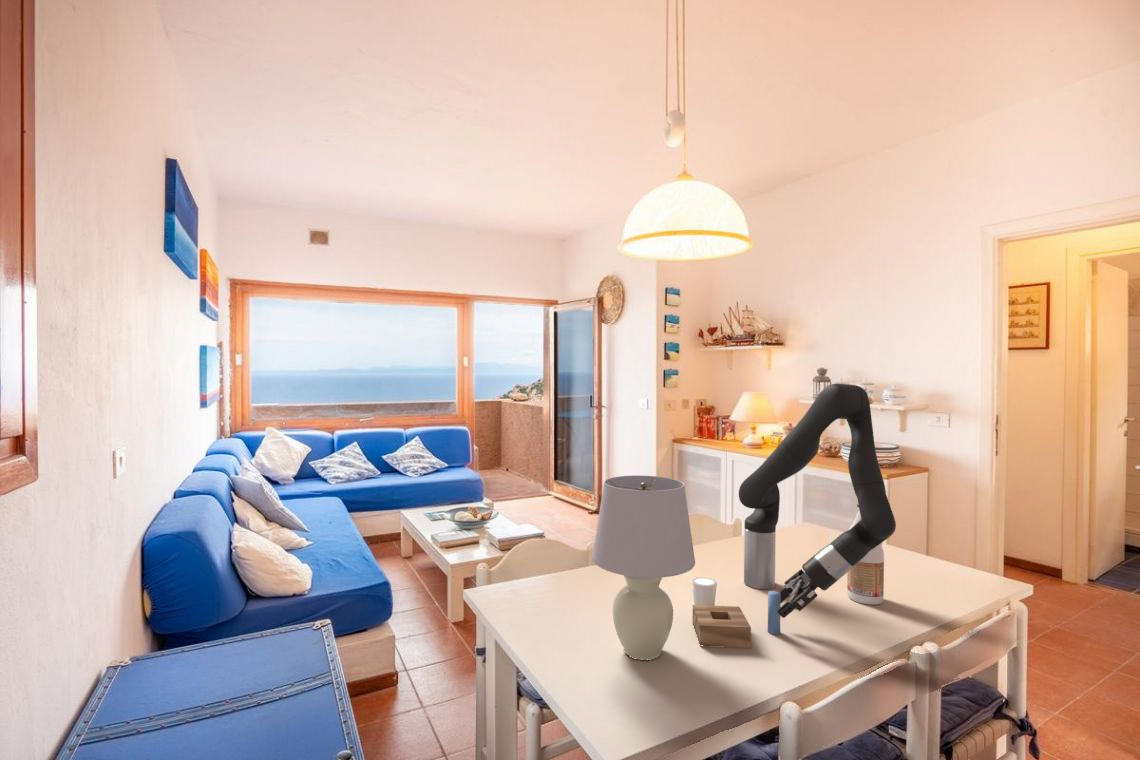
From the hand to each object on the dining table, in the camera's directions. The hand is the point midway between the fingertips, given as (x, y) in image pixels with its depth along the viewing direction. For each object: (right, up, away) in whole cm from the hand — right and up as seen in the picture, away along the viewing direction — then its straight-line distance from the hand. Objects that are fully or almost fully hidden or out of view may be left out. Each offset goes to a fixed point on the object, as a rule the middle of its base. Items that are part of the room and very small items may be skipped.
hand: (777, 607), depth 142 cm
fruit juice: (+34, -7, +22) cm, 41 cm away
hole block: (-15, -6, -2) cm, 16 cm away
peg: (-1, -6, 0) cm, 6 cm away
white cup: (-15, -6, +16) cm, 23 cm away
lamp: (-36, -6, -10) cm, 38 cm away
